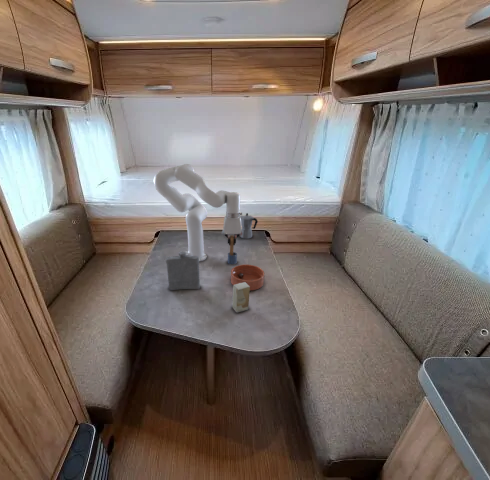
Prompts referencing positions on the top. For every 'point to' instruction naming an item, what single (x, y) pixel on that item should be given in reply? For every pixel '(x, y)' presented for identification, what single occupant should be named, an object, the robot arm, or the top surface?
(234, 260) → the cup
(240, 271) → the bowl
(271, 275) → the top surface
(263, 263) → the top surface
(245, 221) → the coffeepot
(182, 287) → the hip flask
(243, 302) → the cosmetic box
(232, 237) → the stick
